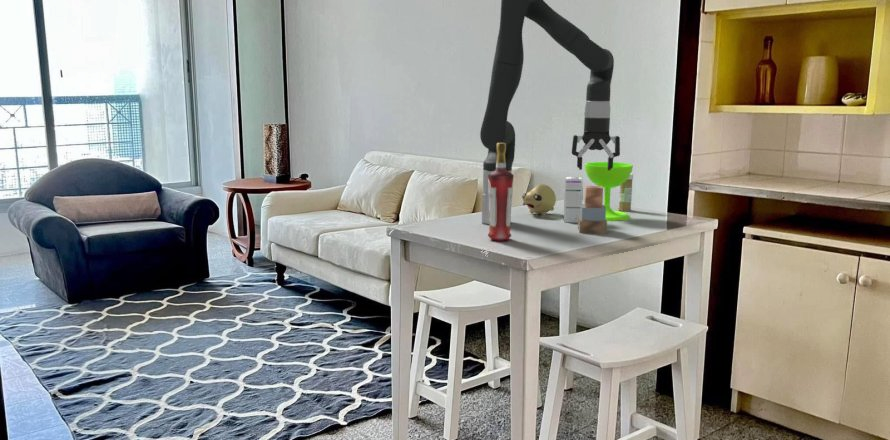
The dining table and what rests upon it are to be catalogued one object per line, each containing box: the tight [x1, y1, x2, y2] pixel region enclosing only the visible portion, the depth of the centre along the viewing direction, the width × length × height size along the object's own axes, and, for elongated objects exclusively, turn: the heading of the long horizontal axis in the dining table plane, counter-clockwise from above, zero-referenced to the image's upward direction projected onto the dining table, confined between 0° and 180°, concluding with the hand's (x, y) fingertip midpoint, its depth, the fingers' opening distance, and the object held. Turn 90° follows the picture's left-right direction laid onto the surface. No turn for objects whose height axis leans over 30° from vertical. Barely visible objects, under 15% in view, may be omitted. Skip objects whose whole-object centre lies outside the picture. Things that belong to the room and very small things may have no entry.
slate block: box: [581, 203, 606, 221], centre depth 225 cm, size 7×7×4 cm
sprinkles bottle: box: [617, 173, 634, 212], centre depth 262 cm, size 5×5×14 cm
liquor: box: [487, 143, 514, 242], centre depth 210 cm, size 7×7×28 cm
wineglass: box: [584, 161, 634, 222], centre depth 249 cm, size 16×16×18 cm
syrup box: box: [563, 176, 584, 224], centre depth 241 cm, size 6×6×14 cm
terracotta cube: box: [584, 185, 604, 208], centre depth 224 cm, size 5×5×6 cm
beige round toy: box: [521, 183, 557, 217], centre depth 253 cm, size 10×12×11 cm
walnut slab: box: [577, 216, 608, 235], centre depth 226 cm, size 8×8×4 cm
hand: (594, 169), depth 222 cm, fingers open, 8 cm apart
